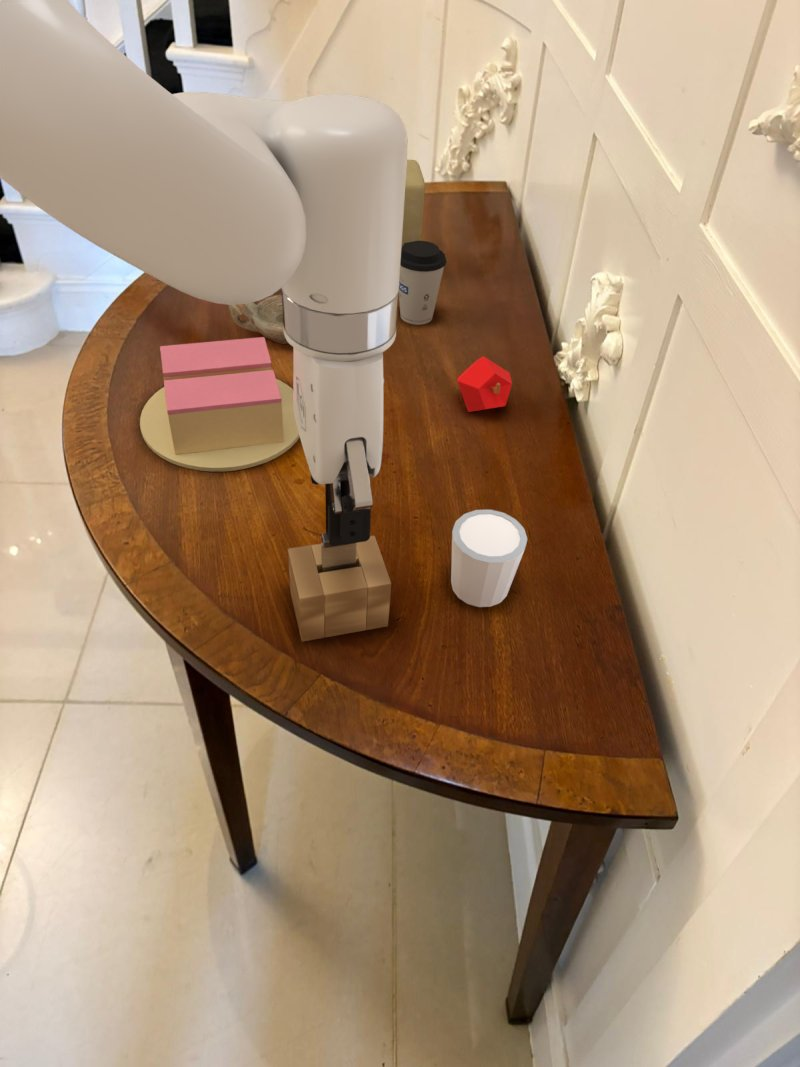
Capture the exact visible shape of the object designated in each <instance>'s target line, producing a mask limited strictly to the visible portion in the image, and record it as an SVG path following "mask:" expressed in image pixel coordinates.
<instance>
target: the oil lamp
mask: <svg viewBox="0 0 800 1067" xmlns="http://www.w3.org/2000/svg"><path fill="white" fill-rule="evenodd" d="M227 306H228V310H229V313H230V316H231V319H232V321H233V323H234V324H235V325H236V326H237V327H238V328H241V329H243V330H246V331H251V332H255V333H260V335H262V337H264V338H265V339H268V340H269V341H272V342H274V343H277V344H280V345H290V344H289V343H288V342H287V340H286V338H285V336H284V332H283V309H282V294H276V295H271V296H269V297H266V298H264V299H262V300H260V301H258V302H257V304H256V303H255V302H252V303H248V304H238V305H227ZM240 316H245V317H246V318H247V320H241V318H240Z"/></svg>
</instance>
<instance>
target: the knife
mask: <svg viewBox="0 0 800 1067" xmlns="http://www.w3.org/2000/svg"><path fill="white" fill-rule="evenodd" d="M341 469H347V466H346V462H344V464H343V466H342V468H341ZM324 486H325V491H324V492H325V496H324V497H325V499H324V500H325V532H322V533H321V542H320V544H321V563H322V572H328V571H335V570H341V569H347V568H354V567H356V543H351V544H345V545H338V546H331V545H330V543H329V540H328V505H331V504H332V496H331V485H330V484H324ZM340 490H341V497H343V496H348V495H349V494H350V485H349V480H347V481H340Z"/></svg>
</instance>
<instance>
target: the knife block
mask: <svg viewBox="0 0 800 1067" xmlns="http://www.w3.org/2000/svg"><path fill="white" fill-rule="evenodd" d="M287 558H288V561H287V562H288V576H289V592H290V596H291V601H292V606H293V610H294V614H295V618H296V623H297V628H298V631H299V637H300V641H301V643H302V642H309V641H313V640H319V639H324V638H330V637H336V636H341V635H346V634H353V633H359V632H364V631H370V630H375V629H382V628H387V627H389V617H390V606H391V591H392V581H391V578H390V575H389V572H388V570H387V566H386V564H385V561H384V558H383V555H382V552H381V550H380V547H379V544H378V541H377V538H376V535H370V538H369V540H367V541H365V542H358V543H356V567H354V568H347V569H341V570H335V571H328V572H322V563H321V543H316V544H309V545H303V546H296V547H290V548H287Z"/></svg>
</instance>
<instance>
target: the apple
mask: <svg viewBox="0 0 800 1067" xmlns="http://www.w3.org/2000/svg"><path fill="white" fill-rule="evenodd" d="M456 381H457V384H458V387H459V390H460V392H461V395H462V398H463V401H464V404H465V407H466V410H467V412H468V413H472V412H477V411H478V412H479V411H484V410H491V409H497V408H503V407H506V406H507V402H508V399H509V395H510V392H511V389H512V385H513V382H512V377H511V372H509V371H508V370H506V369H504V368H503V367H502V366H500V365H498V364H497V363H495V362H494V361H492V360H490V359H489V358H488V357H486V356H481V357H480V358H479V359H477V360H475V361H474V362H472V364H471V365H469V367H468V368H467V369H465V370H464V371H463V372H462V373H461V374H460V375H459V376H458V377H457V380H456Z"/></svg>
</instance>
